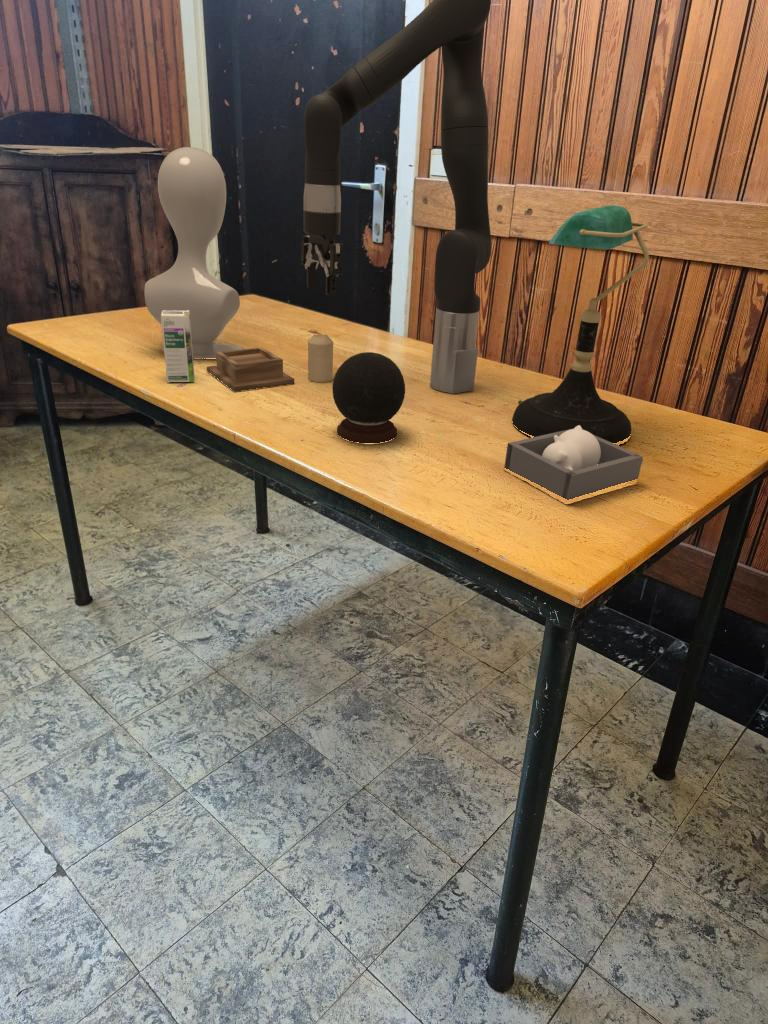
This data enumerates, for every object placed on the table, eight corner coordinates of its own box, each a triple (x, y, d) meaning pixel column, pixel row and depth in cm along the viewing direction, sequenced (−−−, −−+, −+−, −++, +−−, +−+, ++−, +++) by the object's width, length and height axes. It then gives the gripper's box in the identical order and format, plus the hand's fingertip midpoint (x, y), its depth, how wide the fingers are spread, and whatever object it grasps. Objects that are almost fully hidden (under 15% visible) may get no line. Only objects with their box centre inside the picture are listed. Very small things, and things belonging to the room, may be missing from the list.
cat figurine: (564, 435, 108) (598, 414, 116) (510, 452, 116) (545, 432, 124) (584, 487, 109) (616, 463, 117) (529, 501, 117) (563, 477, 125)
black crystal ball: (413, 428, 134) (418, 350, 127) (384, 452, 123) (389, 368, 116) (351, 416, 138) (353, 340, 131) (318, 437, 127) (319, 355, 120)
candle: (308, 382, 156) (308, 337, 151) (307, 375, 160) (307, 331, 156) (333, 382, 157) (334, 338, 152) (331, 375, 161) (332, 331, 157)
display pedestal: (294, 384, 154) (294, 361, 152) (234, 392, 147) (233, 368, 145) (263, 365, 166) (263, 344, 164) (206, 371, 159) (205, 350, 157)
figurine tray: (636, 484, 116) (643, 456, 114) (566, 505, 108) (572, 475, 105) (572, 453, 126) (577, 427, 124) (503, 470, 118) (507, 442, 116)
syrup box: (166, 383, 150) (159, 314, 143) (168, 375, 155) (161, 308, 148) (194, 383, 151) (188, 315, 145) (194, 375, 156) (189, 308, 150)
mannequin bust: (257, 345, 181) (251, 150, 161) (228, 366, 164) (217, 149, 143) (177, 337, 184) (161, 144, 163) (140, 357, 166) (116, 143, 146)
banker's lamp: (533, 399, 154) (564, 199, 135) (641, 420, 145) (690, 210, 126) (492, 435, 132) (522, 205, 114) (615, 463, 124) (670, 218, 105)
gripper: (356, 212, 139) (353, 296, 146) (321, 205, 149) (320, 284, 157) (322, 212, 135) (321, 298, 143) (289, 205, 146) (290, 286, 153)
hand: (321, 291), depth 150 cm, fingers open, 8 cm apart
